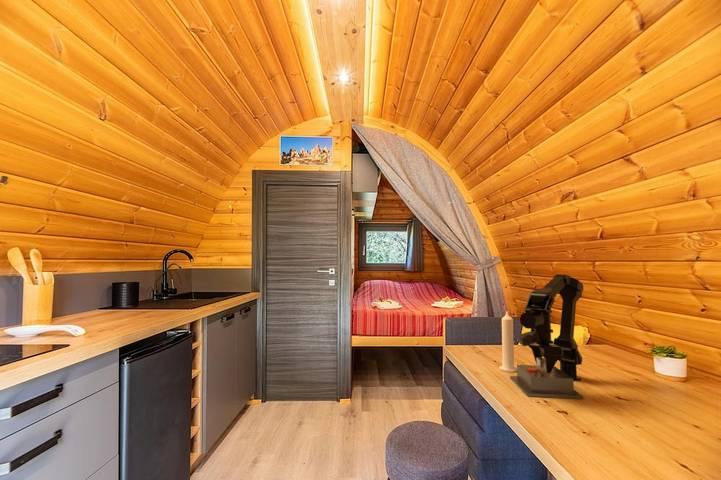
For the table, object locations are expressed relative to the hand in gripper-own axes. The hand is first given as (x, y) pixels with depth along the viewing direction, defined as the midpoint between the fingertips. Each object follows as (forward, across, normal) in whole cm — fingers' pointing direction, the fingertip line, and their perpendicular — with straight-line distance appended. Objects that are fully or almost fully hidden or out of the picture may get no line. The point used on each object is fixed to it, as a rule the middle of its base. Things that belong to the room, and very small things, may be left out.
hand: (543, 368), depth 123 cm
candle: (+7, -20, -6) cm, 23 cm away
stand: (+7, 0, 0) cm, 7 cm away
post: (+5, 0, 0) cm, 5 cm away
